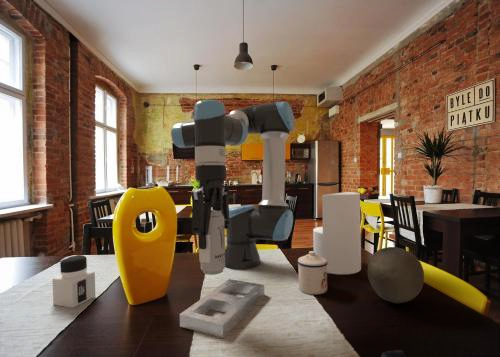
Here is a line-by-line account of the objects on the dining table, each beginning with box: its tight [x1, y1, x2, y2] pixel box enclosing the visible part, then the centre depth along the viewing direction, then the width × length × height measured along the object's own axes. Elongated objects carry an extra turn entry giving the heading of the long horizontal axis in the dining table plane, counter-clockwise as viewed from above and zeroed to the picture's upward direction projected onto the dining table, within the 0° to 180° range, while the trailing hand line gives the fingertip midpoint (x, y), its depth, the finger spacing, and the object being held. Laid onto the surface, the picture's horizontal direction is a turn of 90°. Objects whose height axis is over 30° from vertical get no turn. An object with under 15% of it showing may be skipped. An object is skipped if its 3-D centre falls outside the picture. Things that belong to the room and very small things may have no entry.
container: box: [52, 254, 96, 309], centre depth 83 cm, size 8×8×13 cm
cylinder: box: [312, 191, 362, 275], centre depth 107 cm, size 17×17×28 cm
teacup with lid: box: [297, 250, 328, 295], centre depth 88 cm, size 12×9×12 cm
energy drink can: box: [200, 209, 226, 276], centre depth 70 cm, size 6×6×15 cm
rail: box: [179, 278, 265, 339], centre depth 76 cm, size 24×12×3 cm, turn 155°
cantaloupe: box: [366, 246, 425, 304], centre depth 77 cm, size 14×14×15 cm
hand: (212, 257), depth 70 cm, fingers closed on energy drink can, 6 cm apart
